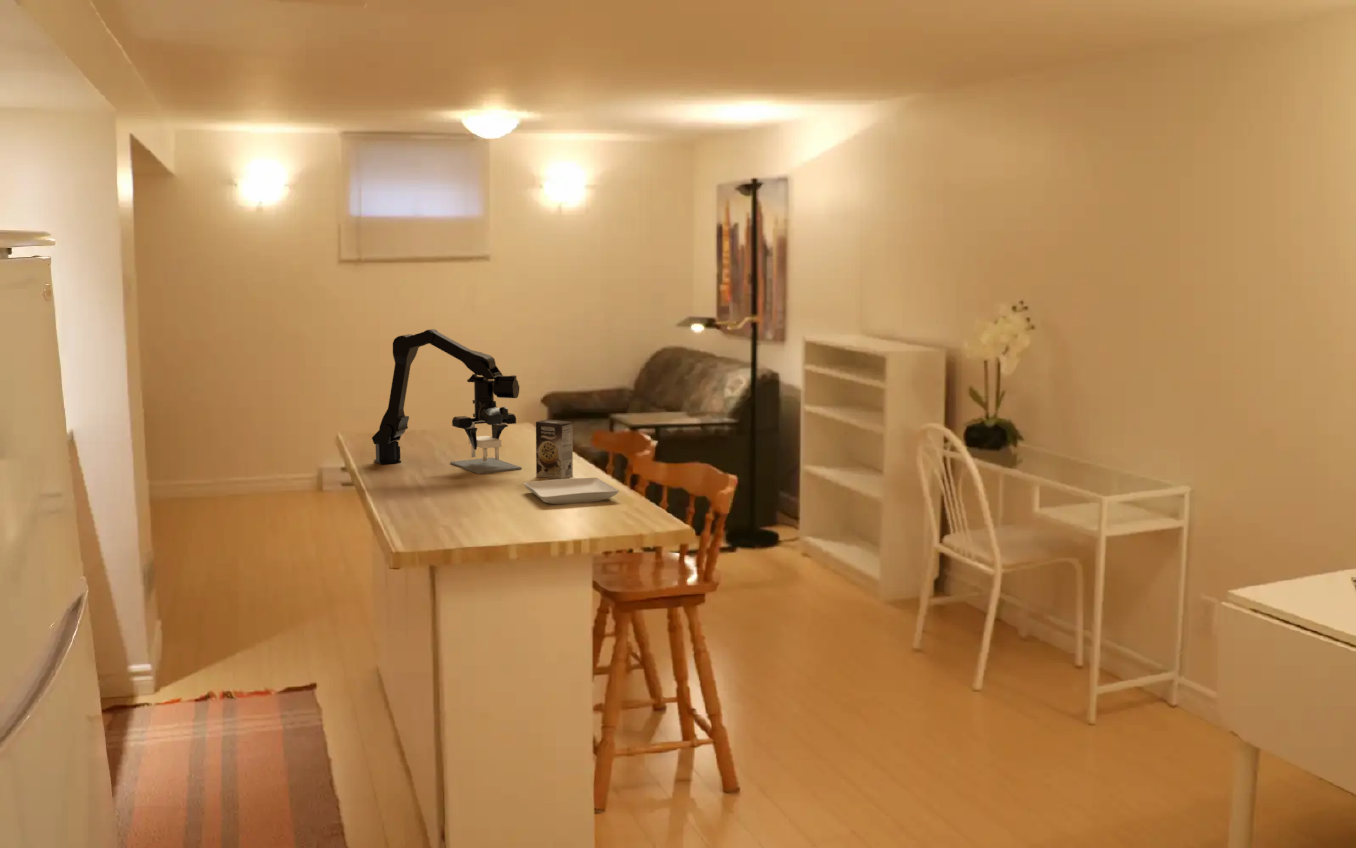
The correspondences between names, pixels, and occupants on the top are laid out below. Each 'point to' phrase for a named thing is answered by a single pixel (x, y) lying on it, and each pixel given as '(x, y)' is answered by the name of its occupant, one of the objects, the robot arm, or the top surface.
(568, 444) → the coffee box
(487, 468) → the mat
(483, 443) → the footstool
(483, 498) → the top surface
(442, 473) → the top surface
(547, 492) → the salad plate
